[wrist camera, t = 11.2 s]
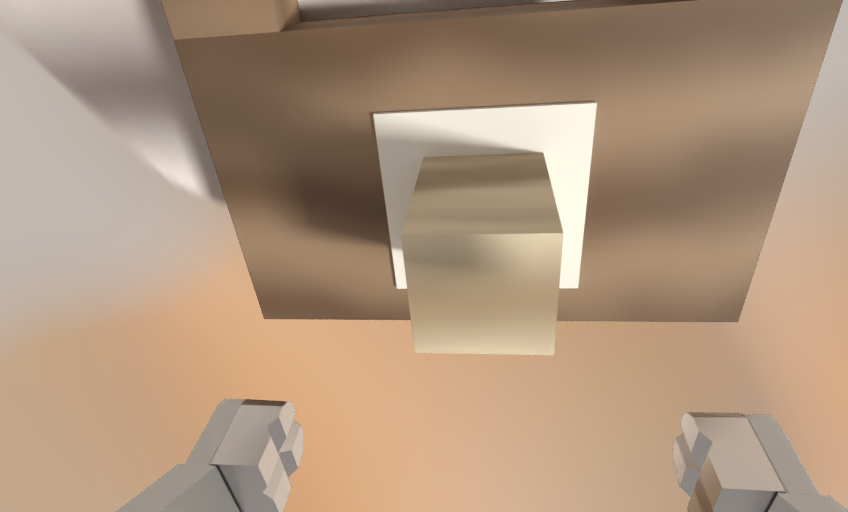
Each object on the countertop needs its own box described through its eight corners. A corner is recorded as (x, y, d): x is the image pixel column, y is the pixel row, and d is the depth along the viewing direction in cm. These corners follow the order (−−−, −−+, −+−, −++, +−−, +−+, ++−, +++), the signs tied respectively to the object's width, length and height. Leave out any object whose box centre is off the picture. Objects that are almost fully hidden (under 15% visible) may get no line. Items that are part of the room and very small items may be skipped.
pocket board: (114, -289, 15) (49, -328, 13) (919, -429, 12) (1015, -510, 10) (281, 289, 27) (262, 321, 25) (716, 288, 24) (739, 324, 22)
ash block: (423, 156, 19) (400, 235, 14) (543, 152, 19) (563, 233, 14) (431, 255, 22) (414, 352, 17) (538, 254, 21) (553, 355, 16)
